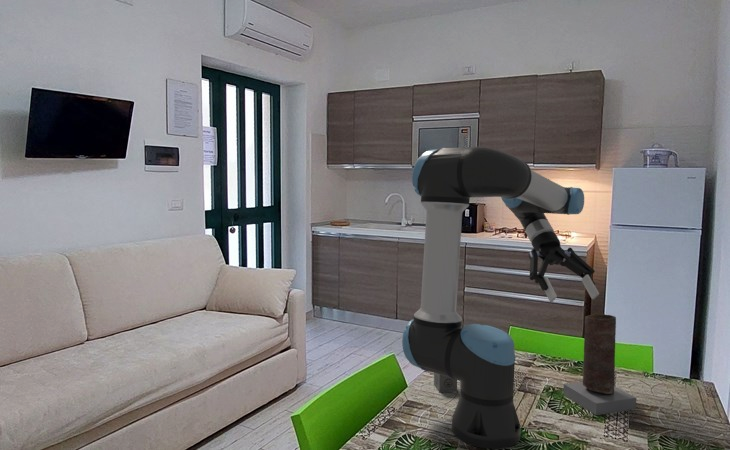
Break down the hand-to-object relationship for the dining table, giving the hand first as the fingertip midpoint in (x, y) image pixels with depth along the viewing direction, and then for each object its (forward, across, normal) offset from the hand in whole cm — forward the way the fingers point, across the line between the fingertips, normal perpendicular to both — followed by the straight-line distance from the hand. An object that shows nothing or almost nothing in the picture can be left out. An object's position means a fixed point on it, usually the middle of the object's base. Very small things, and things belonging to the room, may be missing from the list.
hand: (575, 298), depth 133 cm
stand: (+25, 0, -10) cm, 27 cm away
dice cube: (+12, +35, -24) cm, 44 cm away
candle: (+23, 0, -8) cm, 24 cm away
